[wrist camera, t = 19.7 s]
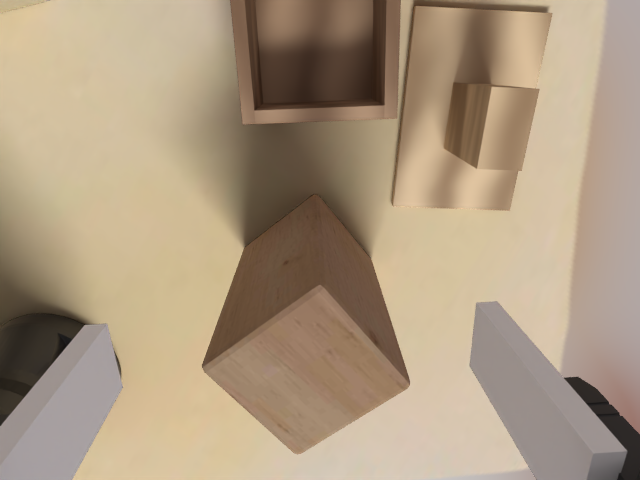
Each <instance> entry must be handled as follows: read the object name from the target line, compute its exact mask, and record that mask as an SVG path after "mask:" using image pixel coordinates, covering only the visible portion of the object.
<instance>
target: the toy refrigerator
mask: <svg viewBox="0 0 640 480" xmlns="http://www.w3.org/2000/svg"><path fill="white" fill-rule="evenodd" d="M46 1H49V0H0V13H3V12H7V11H11V10H15V9H19V8H22V7H26V6H30V5H34V4H38V3H42V2H46Z"/></svg>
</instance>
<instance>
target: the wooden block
mask: <svg viewBox="0 0 640 480" xmlns="http://www.w3.org/2000/svg"><path fill="white" fill-rule="evenodd" d="M202 368H203V370H204V372H205V373H206V374H207V375H208V376H209V377H211V378H212V379H213V380H214V381H215V382H216V383H217V384H218V385H219V386H220V387H222V388H223V389H224V390H225V391H226V392H227V393H228V394H229V395H230V396H232V397H233V398H234V399H235V400H236V401H237V402H238V403H239V404H240V405H241V406H243V407H244V408H245V409H246V410H247V411H248V412H249V413H250V414H251V415H252V416H254V417H255V418H256V419H257V420H258V421H259V422H260V423H261V424H262V425H264V426H265V427H266V428H267V429H268V430H269V431H270V432H271V433H272V434H273V435H275V436H276V437H277V438H278V439H279V440H280V441H281V442H282V443H283V444H285V445H286V446H287V447H288V448H289V449H290V450H291V451H292V452H293V453H295V454H301V453H303V452H304V451H306V450H308V449H309V448H311V447H313V446H314V445H316V444H317V443H319V442H321V441H322V440H324V439H326V438H327V437H329V436H331V435H332V434H334V433H335V432H337V431H339V430H340V429H342V428H344V427H345V426H347V425H348V424H350V423H352V422H353V421H355V420H357V419H358V418H360V417H362V416H363V415H365V414H366V413H368V412H370V411H371V410H373V409H375V408H376V407H378V406H379V405H381V404H383V403H384V402H386V401H388V400H389V399H391V398H393V397H394V396H396V395H397V394H399V393H401V392H402V391H404V390H406V389H407V388H408V387H409V386H410V380H409V376H408V373H407V370H406V367H405V364H404V361H403V357H402V354H401V351H400V348H399V345H398V342H397V339H396V336H395V332H394V329H393V326H392V323H391V320H390V317H389V314H388V310H387V307H386V304H385V301H384V298H383V295H382V292H381V288H380V285H379V282H378V279H377V276H376V273H375V270H374V266H373V263H372V260H371V259H370V257H369V256H368V255H367V254H366V253H365V251H364V250H363V249H362V248H361V246H360V245H359V244H358V243H357V242H356V240H355V239H354V238H353V237H352V235H351V234H350V233H349V232H348V231H347V229H346V228H345V227H344V226H343V224H342V223H341V222H340V221H339V220H338V218H337V217H336V216H335V215H334V213H333V212H332V211H331V210H330V209H329V207H328V206H327V205H326V204H325V202H324V201H323V200H322V199H321V198H320V196H318V195H316V194H315V195H312V196H311V197H309V198H308V199H307V200H306V201H304V202H303V203H302V204H300V205H299V206H298V207H297V208H295V209H294V210H293V211H291V212H290V213H289V214H287V215H286V216H285V217H284V218H282V219H281V220H280V221H278V222H277V223H276V224H274V225H273V226H272V227H271V228H269V229H268V230H267V231H265V232H264V233H263V234H261V235H260V236H259V237H258V238H256V239H255V240H254V241H252V242H251V243H250V244H248V245H247V246H246V247H245V248H244V250H243V253H242V256H241V259H240V261H239V264H238V267H237V270H236V273H235V275H234V278H233V281H232V284H231V286H230V289H229V292H228V295H227V297H226V300H225V303H224V306H223V309H222V311H221V314H220V317H219V320H218V322H217V325H216V328H215V331H214V333H213V336H212V339H211V342H210V345H209V347H208V350H207V353H206V356H205V358H204V361H203V364H202Z"/></svg>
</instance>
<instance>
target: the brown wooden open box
mask: <svg viewBox="0 0 640 480" xmlns="http://www.w3.org/2000/svg"><path fill="white" fill-rule="evenodd" d="M230 3H231V13H232V23H233V33H234V43H235V53H236V63H237V73H238V83H239V93H240V104H241V114H242V124H268V123H293V122H319V121H344V120H370V119H395V118H397V107H398V73H399V39H400V5H401V0H230Z"/></svg>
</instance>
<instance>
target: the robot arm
mask: <svg viewBox="0 0 640 480" xmlns="http://www.w3.org/2000/svg"><path fill="white" fill-rule="evenodd" d="M470 367H471V369H472V371H473V373H474V374H475V376H476V378H477V379H478V381H479V383H480V385H481V386H482V388H483V390H484V391H485V393H486V395H487V397H488V398H489V400H490V402H491V403H492V405H493V407H494V408H495V410H496V412H497V414H498V415H499V417H500V419H501V420H502V422H503V424H504V426H505V427H506V429H507V431H508V432H509V434H510V436H511V437H512V439H513V441H514V443H515V444H516V446H517V448H518V449H519V451H520V453H521V455H522V456H523V458H524V460H525V461H526V463H527V465H528V467H529V468H530V470H531V472H532V473H533V475H534V477H535V478H536V480H640V434H639V433H638V432H637V431H636V430H635V429H634V428H633V427H632V426H631V425H630V424H629V423H628V422H627V421H626V420H625V419H624V418H623V416H620V415H619V412H618V411H617V410H616V409H615V408H614V407H613V406H612V405H610V404H609V402H608V401H607V400H606V398H605V397H604V396H603V395H602V394H601V393H600V392H599V391H598V390H597V389H596V388H595V387H593V386H591V385H590V384H588V383H587V382H585V381H584V380H582V379H581V378H579V377H569V378H563V377H562V375H561V374H560V373H559V372H558V371H557V370H556V368H555V367H554V366H553V365H552V364H551V363H550V362H549V360H548V359H547V358H546V357H545V356H544V355H543V354H542V352H541V351H540V350H539V349H538V348H537V347H536V345H535V344H534V343H533V342H532V341H531V340H530V339H529V337H528V336H527V335H526V334H525V333H524V332H523V331H522V329H521V328H520V327H519V326H518V325H517V324H516V322H515V321H514V320H513V319H512V318H511V317H510V316H509V314H508V313H507V312H506V311H505V310H504V309H503V308H502V306H501V305H500V304H499V303H498V302H480V303H476V310H475V320H474V329H473V338H472V347H471V357H470ZM122 388H123V386H122V382H121V371H120V366H119V363H118V360H117V358H116V356H115V354H114V350H113V346H112V342H111V338H110V333H109V329H108V325H107V324H93V325H83V324H81V323H79V322H77V321H75V320H72V319H69V318H66V317H62V316H58V315H52V314H30V315H25V316H21V317H18V318H15V319H13V320H11V321H9V322H7V323H6V324H4V325H3V326H2V327H0V480H72V479H73V477H74V475H75V473H76V471H77V470H78V468H79V466H80V464H81V462H82V461H83V459H84V457H85V455H86V453H87V452H88V450H89V448H90V446H91V444H92V442H93V441H94V439H95V437H96V435H97V433H98V432H99V430H100V428H101V426H102V424H103V422H104V421H105V419H106V417H107V415H108V413H109V412H110V410H111V408H112V406H113V404H114V402H115V401H116V399H117V397H118V395H119V393H120V392H121V390H122Z"/></svg>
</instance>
